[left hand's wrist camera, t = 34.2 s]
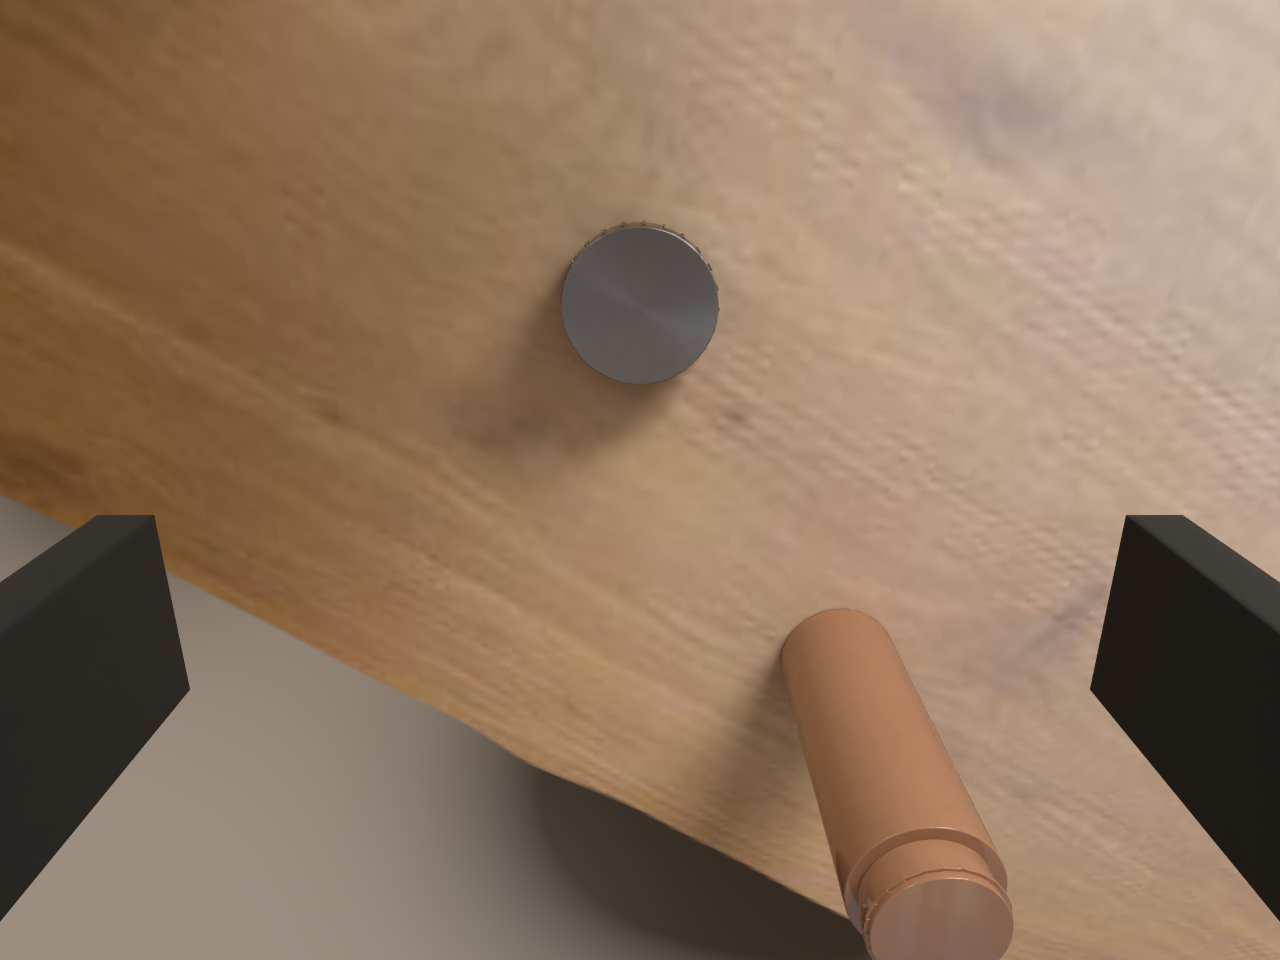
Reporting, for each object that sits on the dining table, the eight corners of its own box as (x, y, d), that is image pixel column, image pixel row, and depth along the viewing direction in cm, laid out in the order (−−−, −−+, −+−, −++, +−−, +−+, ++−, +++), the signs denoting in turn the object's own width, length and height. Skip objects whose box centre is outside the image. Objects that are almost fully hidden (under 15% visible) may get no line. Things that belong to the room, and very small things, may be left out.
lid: (630, 186, 36) (630, 189, 34) (747, 291, 37) (753, 298, 36) (532, 308, 38) (527, 317, 36) (648, 403, 39) (648, 416, 37)
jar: (846, 587, 42) (962, 837, 27) (915, 661, 44) (1062, 938, 29) (757, 655, 44) (820, 929, 28) (827, 724, 45) (922, 1022, 30)
